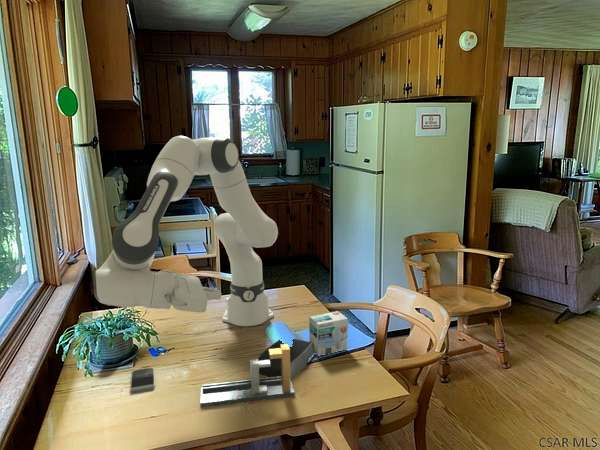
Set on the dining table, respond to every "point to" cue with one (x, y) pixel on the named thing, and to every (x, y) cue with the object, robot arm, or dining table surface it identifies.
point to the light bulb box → (328, 332)
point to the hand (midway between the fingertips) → (220, 294)
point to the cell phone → (142, 380)
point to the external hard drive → (297, 358)
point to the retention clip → (257, 376)
